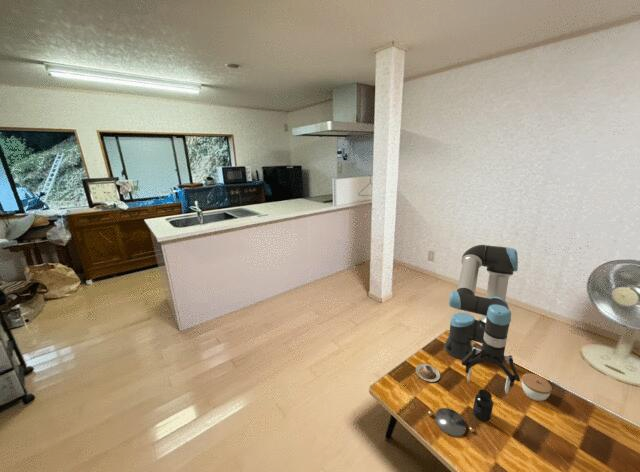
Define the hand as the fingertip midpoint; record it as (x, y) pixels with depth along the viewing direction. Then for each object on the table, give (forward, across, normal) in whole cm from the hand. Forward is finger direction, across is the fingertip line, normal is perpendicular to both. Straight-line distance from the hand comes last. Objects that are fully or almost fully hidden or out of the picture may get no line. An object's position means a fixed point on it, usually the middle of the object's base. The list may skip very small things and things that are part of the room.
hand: (486, 384), depth 109 cm
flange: (+17, -12, -10) cm, 23 cm away
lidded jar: (+17, +22, +22) cm, 36 cm away
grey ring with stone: (+18, -24, +14) cm, 33 cm away
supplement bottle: (+17, 0, 0) cm, 17 cm away
